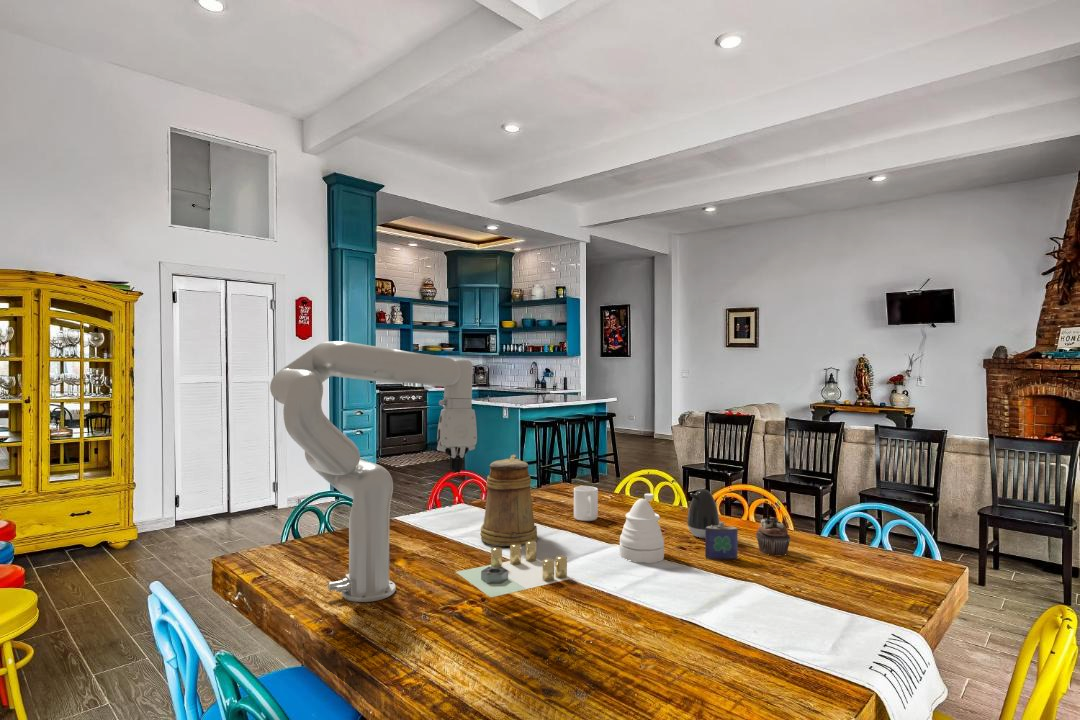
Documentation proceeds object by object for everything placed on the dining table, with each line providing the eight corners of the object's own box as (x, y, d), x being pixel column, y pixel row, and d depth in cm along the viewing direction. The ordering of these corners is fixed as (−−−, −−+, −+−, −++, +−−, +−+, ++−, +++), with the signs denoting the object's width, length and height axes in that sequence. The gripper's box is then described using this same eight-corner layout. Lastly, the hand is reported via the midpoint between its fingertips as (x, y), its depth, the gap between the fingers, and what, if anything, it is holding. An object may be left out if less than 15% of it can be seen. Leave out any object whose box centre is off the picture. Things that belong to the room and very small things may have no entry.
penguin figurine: (680, 533, 200) (680, 487, 200) (705, 530, 204) (705, 485, 204) (700, 542, 190) (700, 494, 190) (726, 538, 195) (726, 491, 195)
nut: (490, 586, 151) (490, 577, 151) (478, 577, 157) (478, 569, 157) (511, 581, 155) (511, 572, 155) (498, 573, 160) (498, 564, 160)
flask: (736, 557, 177) (736, 520, 177) (739, 560, 174) (739, 523, 174) (704, 556, 177) (704, 520, 177) (706, 560, 174) (706, 522, 174)
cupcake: (795, 557, 177) (796, 523, 177) (762, 556, 177) (762, 522, 177) (783, 546, 187) (783, 514, 187) (751, 546, 187) (751, 514, 187)
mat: (490, 600, 144) (490, 597, 144) (455, 574, 161) (455, 571, 161) (572, 581, 157) (572, 578, 157) (532, 559, 174) (532, 556, 174)
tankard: (477, 548, 184) (477, 465, 183) (485, 526, 207) (485, 453, 207) (537, 548, 183) (537, 466, 183) (538, 526, 207) (538, 453, 207)
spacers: (522, 588, 150) (523, 567, 150) (489, 566, 165) (489, 548, 165) (569, 577, 158) (569, 558, 158) (532, 557, 173) (532, 540, 173)
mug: (579, 524, 210) (579, 493, 210) (571, 515, 222) (571, 486, 222) (603, 523, 212) (603, 492, 212) (594, 514, 224) (594, 485, 223)
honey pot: (661, 549, 184) (662, 490, 183) (666, 564, 171) (666, 500, 171) (618, 548, 185) (619, 488, 185) (620, 562, 172) (620, 498, 172)
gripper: (436, 405, 159) (434, 476, 158) (488, 405, 166) (486, 472, 166) (426, 403, 165) (424, 471, 165) (477, 403, 172) (475, 468, 172)
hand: (455, 471), depth 165 cm, fingers closed
